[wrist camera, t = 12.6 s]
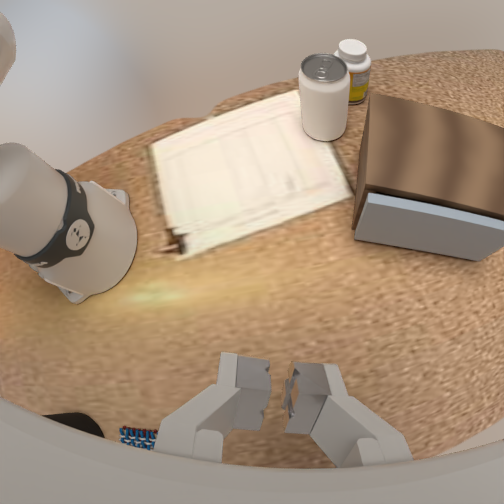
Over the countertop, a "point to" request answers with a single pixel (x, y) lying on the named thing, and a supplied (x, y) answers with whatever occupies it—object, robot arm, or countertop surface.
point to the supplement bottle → (355, 68)
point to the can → (324, 96)
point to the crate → (430, 158)
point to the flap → (428, 228)
